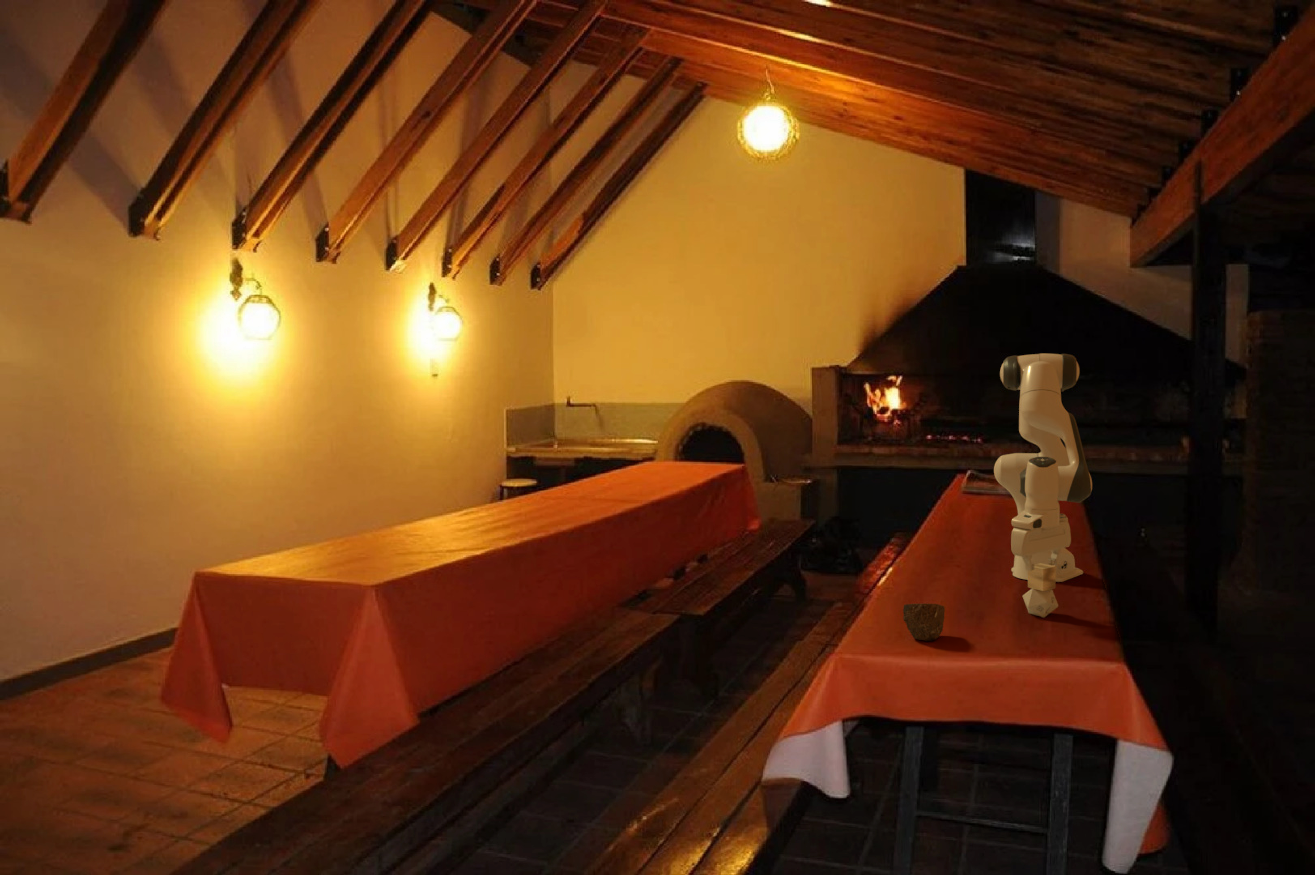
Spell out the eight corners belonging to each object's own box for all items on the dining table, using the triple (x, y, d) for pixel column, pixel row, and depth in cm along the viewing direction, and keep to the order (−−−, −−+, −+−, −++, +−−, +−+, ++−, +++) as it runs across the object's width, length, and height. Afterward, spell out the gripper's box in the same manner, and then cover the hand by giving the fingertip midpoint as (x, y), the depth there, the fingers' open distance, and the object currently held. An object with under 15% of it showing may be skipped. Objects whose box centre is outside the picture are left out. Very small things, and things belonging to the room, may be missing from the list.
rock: (933, 612, 263) (956, 598, 256) (941, 648, 258) (964, 635, 251) (896, 607, 259) (918, 593, 252) (902, 643, 254) (925, 630, 246)
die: (1027, 621, 270) (1050, 596, 266) (1010, 599, 277) (1033, 574, 273) (1047, 627, 274) (1070, 602, 270) (1030, 605, 281) (1052, 581, 277)
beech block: (1040, 584, 276) (1040, 563, 275) (1055, 588, 272) (1055, 566, 271) (1027, 587, 274) (1027, 565, 273) (1043, 591, 269) (1043, 569, 269)
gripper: (1057, 511, 279) (1057, 559, 280) (1007, 520, 268) (1006, 571, 270) (1077, 514, 273) (1076, 563, 275) (1026, 524, 263) (1025, 575, 265)
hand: (1041, 567), depth 272 cm, fingers open, 8 cm apart
